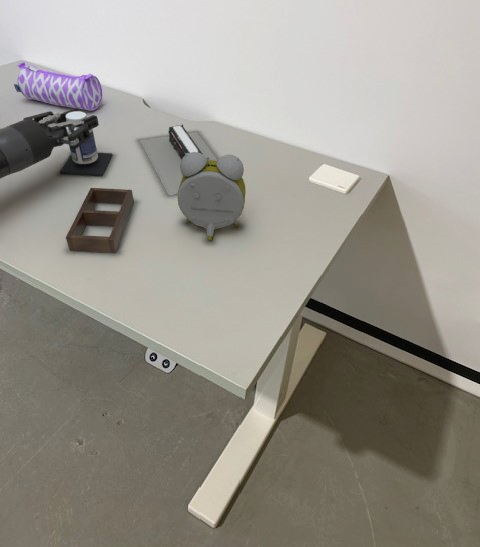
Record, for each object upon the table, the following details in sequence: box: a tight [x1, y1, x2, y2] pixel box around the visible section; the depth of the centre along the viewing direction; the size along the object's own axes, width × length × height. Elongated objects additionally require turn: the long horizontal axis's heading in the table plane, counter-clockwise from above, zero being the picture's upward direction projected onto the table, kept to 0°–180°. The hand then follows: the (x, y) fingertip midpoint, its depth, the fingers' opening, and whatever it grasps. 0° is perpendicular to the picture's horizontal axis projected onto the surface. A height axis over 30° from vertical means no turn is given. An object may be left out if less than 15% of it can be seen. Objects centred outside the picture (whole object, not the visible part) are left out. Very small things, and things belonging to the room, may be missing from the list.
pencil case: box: [13, 61, 103, 112], centre depth 111 cm, size 22×9×10 cm, turn 72°
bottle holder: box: [65, 187, 135, 254], centre depth 77 cm, size 8×15×3 cm, turn 179°
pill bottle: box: [66, 110, 99, 164], centre depth 88 cm, size 5×5×10 cm
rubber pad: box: [59, 152, 113, 177], centre depth 92 cm, size 9×9×1 cm
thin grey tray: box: [139, 123, 218, 196], centre depth 94 cm, size 14×25×4 cm, turn 23°
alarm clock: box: [177, 152, 247, 241], centre depth 73 cm, size 12×7×15 cm, turn 86°
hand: (86, 116), depth 87 cm, fingers closed on pill bottle, 5 cm apart
